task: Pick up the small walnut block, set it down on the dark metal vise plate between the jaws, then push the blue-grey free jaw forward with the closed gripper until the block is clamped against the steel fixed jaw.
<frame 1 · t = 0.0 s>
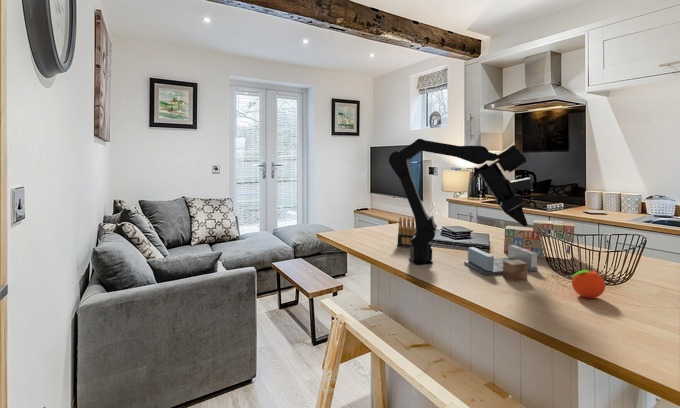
hand: (523, 222, 109), 15 cm above the table, tool tilted 35°, fingers open, 9 cm apart
vise base: (499, 267, 113), on the table
walnut block: (514, 278, 102), on the table
stack of blocks: (536, 255, 126), on the table
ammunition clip: (410, 247, 140), on the table
clementine: (585, 297, 88), on the table
free jaw: (480, 258, 111), point 3 cm above the table, slide at 0.0 cm
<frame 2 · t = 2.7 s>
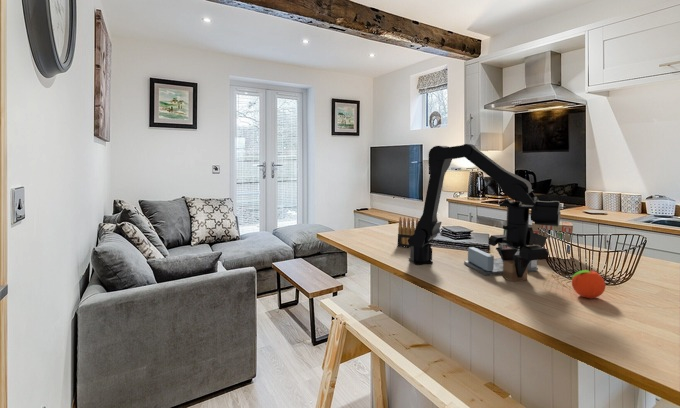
hand: (514, 274, 102), 1 cm above the table, tool pointing down, fingers closed on walnut block, 4 cm apart
walnut block: (514, 278, 102), on the table, touching gripper
when the fingers open (3 cm above the table, at t = 6.0 s): walnut block drops 1 cm, resting on vise base.
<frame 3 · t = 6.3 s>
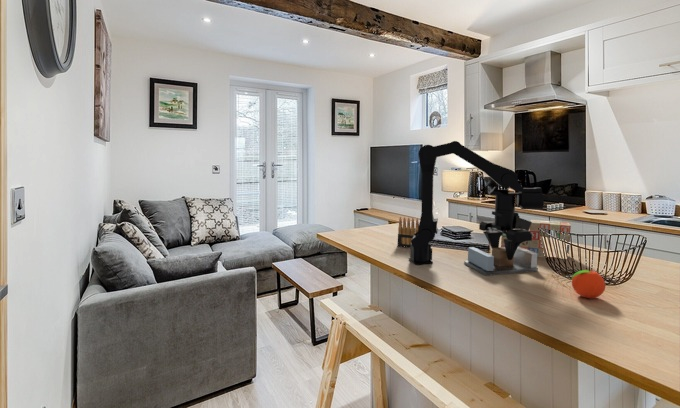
hand: (502, 256, 112), 3 cm above the table, tool pointing down, fingers open, 7 cm apart
walnut block: (502, 264, 113), point 1 cm above the table, touching vise base
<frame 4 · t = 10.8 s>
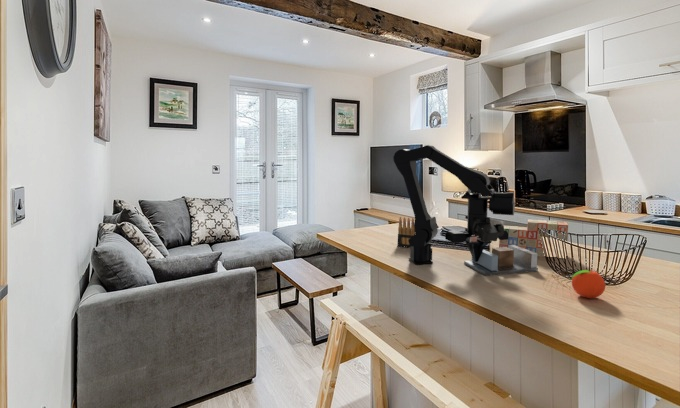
hand: (475, 261, 111), 3 cm above the table, tool pointing down, fingers closed
free jaw: (484, 258, 111), point 3 cm above the table, slide at 1.4 cm, touching gripper
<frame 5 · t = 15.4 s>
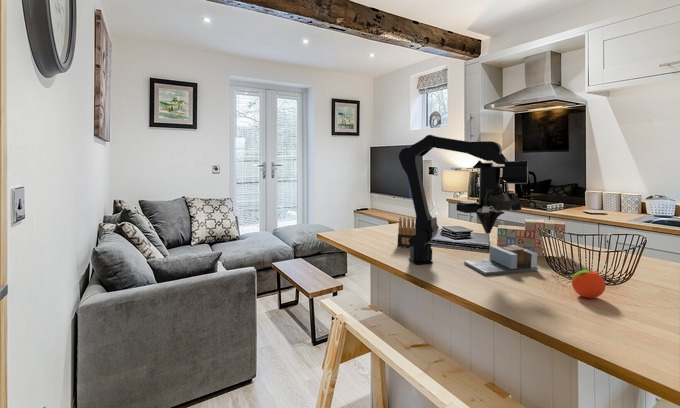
hand: (487, 233, 108), 12 cm above the table, tool pointing down, fingers closed
walnut block: (511, 263, 113), point 1 cm above the table, touching vise base
free jaw: (502, 256, 112), point 3 cm above the table, slide at 8.0 cm
at the end: free jaw slide at 8.0 cm; walnut block 0.5 cm from the target spot, point 1.0 cm above the table; walnut block tilted 0° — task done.
